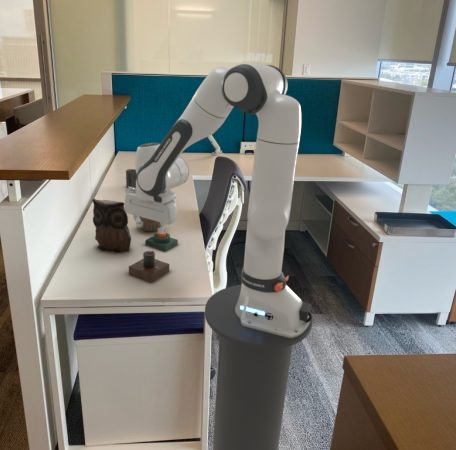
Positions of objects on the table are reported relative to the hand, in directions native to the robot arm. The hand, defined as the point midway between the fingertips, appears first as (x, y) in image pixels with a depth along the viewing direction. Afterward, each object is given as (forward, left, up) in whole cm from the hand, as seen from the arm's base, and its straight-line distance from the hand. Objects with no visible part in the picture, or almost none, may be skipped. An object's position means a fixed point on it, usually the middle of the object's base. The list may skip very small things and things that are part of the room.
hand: (150, 229), depth 152 cm
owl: (+23, -7, -15) cm, 28 cm away
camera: (+65, -70, -15) cm, 96 cm away
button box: (+10, -19, -15) cm, 26 cm away
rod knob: (-1, +2, -12) cm, 12 cm away
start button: (+10, -19, -12) cm, 24 cm away
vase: (+24, -29, -15) cm, 40 cm away
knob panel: (-1, +2, -15) cm, 15 cm away
